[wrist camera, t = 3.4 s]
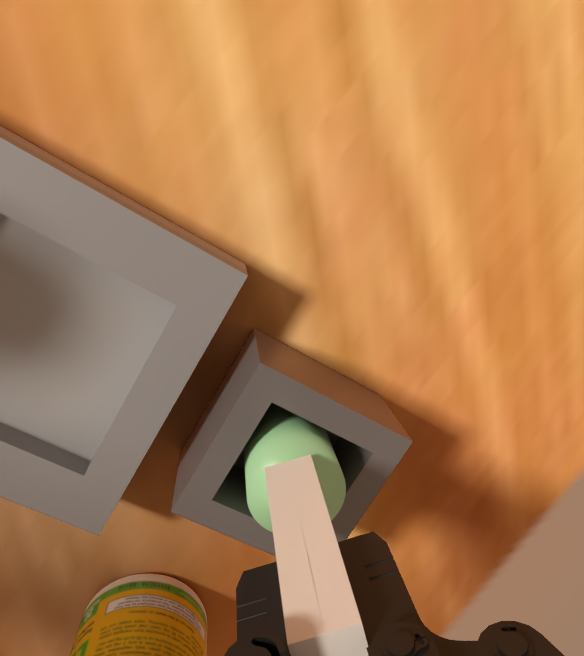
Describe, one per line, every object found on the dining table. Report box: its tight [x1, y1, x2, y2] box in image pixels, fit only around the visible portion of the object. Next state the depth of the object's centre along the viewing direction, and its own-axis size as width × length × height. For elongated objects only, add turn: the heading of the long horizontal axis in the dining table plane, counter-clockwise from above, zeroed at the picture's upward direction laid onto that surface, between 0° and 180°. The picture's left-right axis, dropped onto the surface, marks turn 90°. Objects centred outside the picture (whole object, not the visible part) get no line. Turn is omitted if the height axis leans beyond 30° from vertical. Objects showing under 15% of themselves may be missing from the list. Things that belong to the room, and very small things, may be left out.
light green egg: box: [243, 403, 346, 532], centre depth 19 cm, size 3×3×4 cm
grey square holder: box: [171, 328, 413, 556], centre depth 20 cm, size 6×6×4 cm
